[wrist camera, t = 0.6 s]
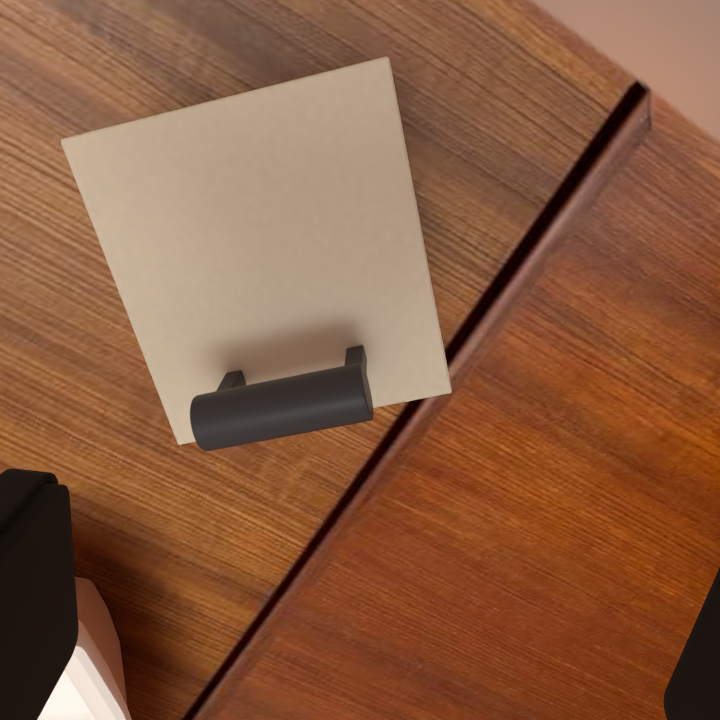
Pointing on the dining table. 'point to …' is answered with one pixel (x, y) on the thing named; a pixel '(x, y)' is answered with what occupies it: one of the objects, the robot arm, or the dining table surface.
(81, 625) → the bowl
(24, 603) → the robot arm
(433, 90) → the dining table surface
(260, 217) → the lid
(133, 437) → the dining table surface
